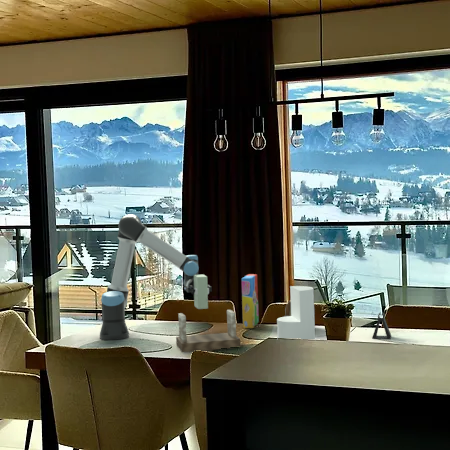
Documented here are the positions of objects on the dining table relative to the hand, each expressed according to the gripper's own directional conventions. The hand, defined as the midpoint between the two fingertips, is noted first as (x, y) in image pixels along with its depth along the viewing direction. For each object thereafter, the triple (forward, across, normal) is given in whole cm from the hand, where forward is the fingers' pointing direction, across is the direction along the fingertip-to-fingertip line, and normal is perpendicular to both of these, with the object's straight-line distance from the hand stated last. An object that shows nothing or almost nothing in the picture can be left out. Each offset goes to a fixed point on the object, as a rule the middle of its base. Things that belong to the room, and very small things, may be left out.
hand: (202, 291), depth 376 cm
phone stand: (+28, -83, -23) cm, 91 cm away
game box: (-31, -32, -24) cm, 51 cm away
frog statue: (-6, -52, -24) cm, 58 cm away
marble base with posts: (+15, +1, -24) cm, 29 cm away
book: (-5, 0, -9) cm, 10 cm away
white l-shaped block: (+36, -37, -24) cm, 57 cm away
